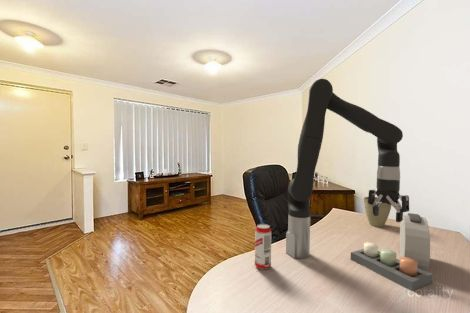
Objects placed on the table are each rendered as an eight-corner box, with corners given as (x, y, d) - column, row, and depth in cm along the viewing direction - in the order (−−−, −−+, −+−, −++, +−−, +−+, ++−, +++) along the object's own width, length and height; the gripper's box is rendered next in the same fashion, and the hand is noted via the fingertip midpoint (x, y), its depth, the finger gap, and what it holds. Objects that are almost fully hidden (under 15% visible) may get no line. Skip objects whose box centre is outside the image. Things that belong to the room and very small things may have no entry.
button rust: (411, 277, 77) (412, 264, 77) (396, 270, 82) (396, 258, 82) (420, 274, 79) (420, 262, 79) (404, 267, 84) (405, 255, 84)
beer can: (260, 272, 85) (261, 229, 84) (251, 264, 90) (252, 224, 90) (274, 268, 87) (274, 227, 87) (264, 260, 93) (265, 222, 92)
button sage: (390, 267, 84) (390, 255, 83) (377, 261, 88) (377, 250, 88) (398, 265, 86) (399, 253, 86) (385, 259, 90) (385, 248, 90)
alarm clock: (429, 276, 83) (431, 223, 82) (403, 270, 86) (405, 219, 86) (419, 254, 101) (421, 210, 100) (399, 250, 105) (400, 207, 104)
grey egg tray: (411, 291, 74) (412, 282, 74) (350, 259, 95) (350, 252, 95) (432, 282, 79) (432, 274, 79) (369, 254, 100) (369, 247, 100)
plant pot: (359, 224, 139) (360, 199, 139) (367, 219, 150) (368, 195, 149) (387, 231, 128) (388, 203, 128) (394, 225, 139) (395, 199, 138)
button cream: (372, 259, 90) (372, 248, 90) (360, 254, 95) (361, 243, 94) (380, 257, 92) (380, 246, 92) (368, 251, 97) (369, 241, 96)
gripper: (364, 176, 93) (363, 215, 94) (402, 180, 81) (400, 225, 81) (376, 175, 97) (375, 213, 97) (414, 179, 84) (412, 222, 84)
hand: (386, 218), depth 89 cm, fingers open, 8 cm apart
